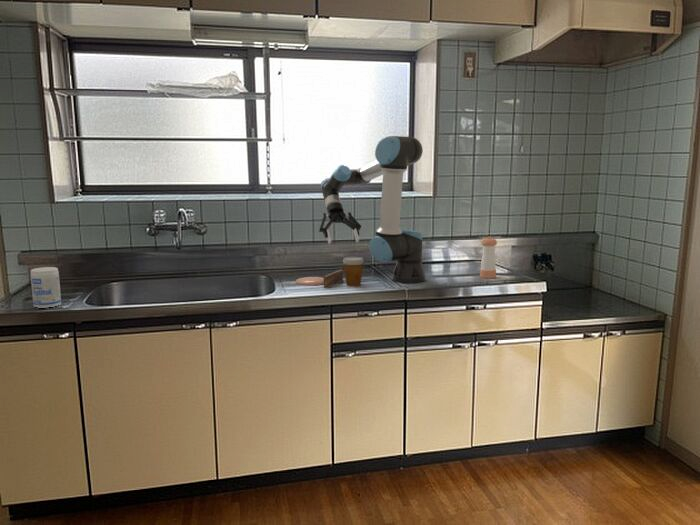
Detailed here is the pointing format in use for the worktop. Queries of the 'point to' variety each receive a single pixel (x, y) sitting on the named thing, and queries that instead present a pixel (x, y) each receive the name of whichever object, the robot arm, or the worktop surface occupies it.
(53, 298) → the supplement tub
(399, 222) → the robot arm
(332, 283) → the walnut wall
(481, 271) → the pepper shaker
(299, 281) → the terracotta coaster
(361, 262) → the disposable coffee cup
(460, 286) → the worktop surface
